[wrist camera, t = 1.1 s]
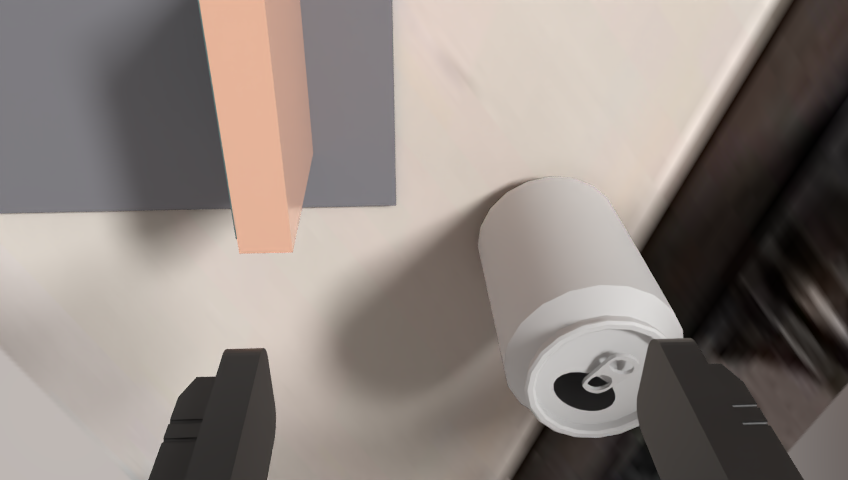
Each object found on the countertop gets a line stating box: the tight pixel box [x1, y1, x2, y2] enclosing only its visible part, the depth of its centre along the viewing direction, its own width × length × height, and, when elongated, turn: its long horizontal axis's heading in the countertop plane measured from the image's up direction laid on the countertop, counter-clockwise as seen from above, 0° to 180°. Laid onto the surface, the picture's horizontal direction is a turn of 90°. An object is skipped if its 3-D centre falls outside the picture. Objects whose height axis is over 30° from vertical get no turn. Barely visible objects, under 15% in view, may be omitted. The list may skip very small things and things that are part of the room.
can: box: [478, 176, 683, 438], centre depth 33 cm, size 8×8×12 cm
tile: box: [198, 0, 313, 254], centre depth 28 cm, size 2×10×9 cm, turn 0°
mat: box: [0, 0, 396, 213], centre depth 31 cm, size 20×16×1 cm
